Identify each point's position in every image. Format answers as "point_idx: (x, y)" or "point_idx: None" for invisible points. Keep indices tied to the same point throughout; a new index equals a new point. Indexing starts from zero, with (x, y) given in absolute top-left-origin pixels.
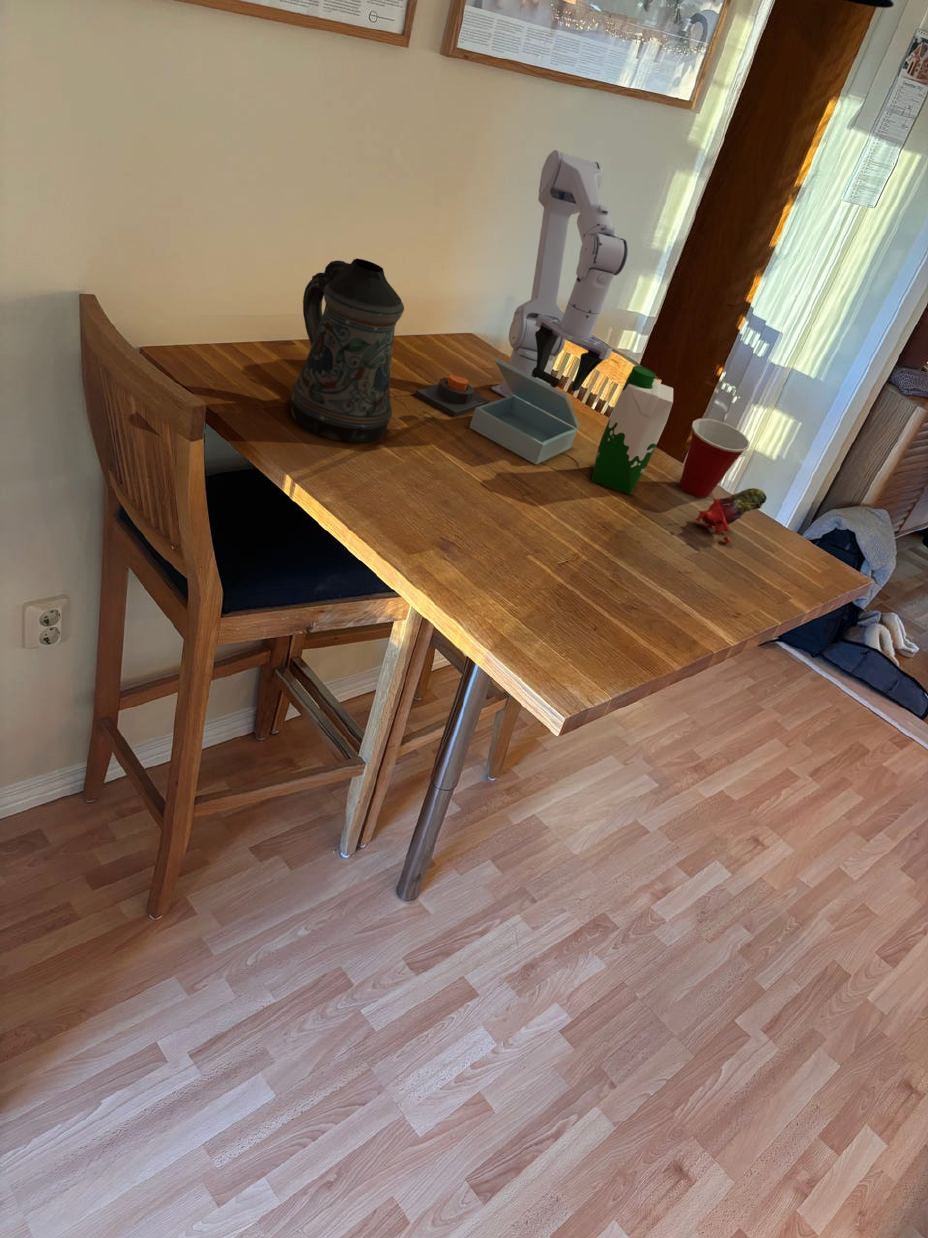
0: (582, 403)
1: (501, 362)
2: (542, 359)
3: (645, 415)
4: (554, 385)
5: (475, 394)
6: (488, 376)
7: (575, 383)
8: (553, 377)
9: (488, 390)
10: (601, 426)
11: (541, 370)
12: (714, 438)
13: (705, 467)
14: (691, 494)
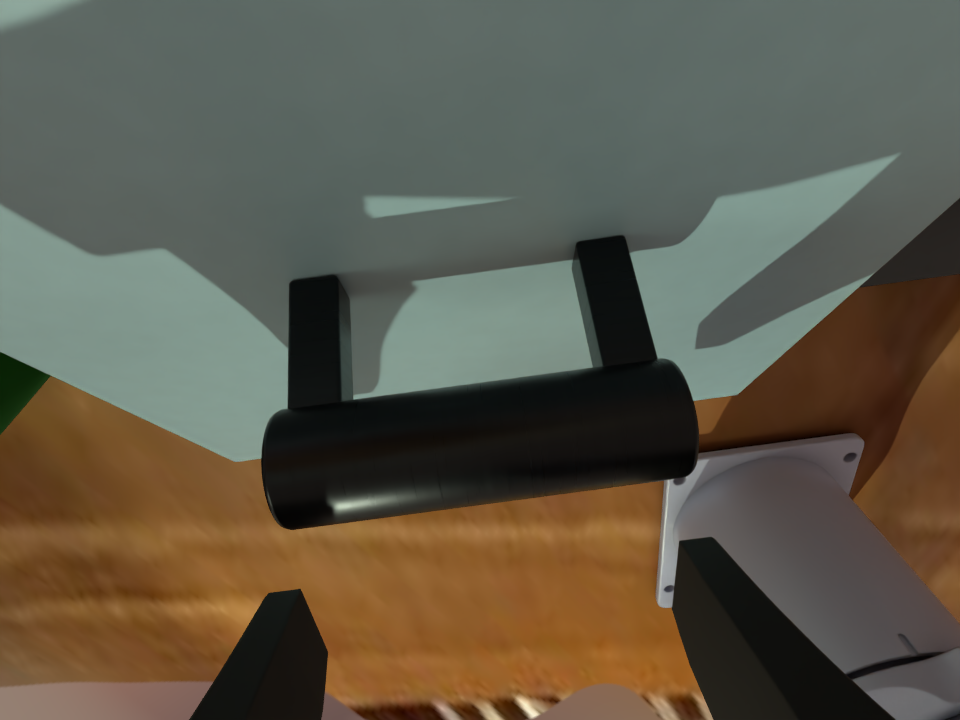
0: (564, 692)
1: None
2: (749, 672)
3: None
4: (289, 408)
5: (901, 262)
6: (917, 515)
7: (242, 660)
8: (346, 476)
9: (862, 417)
10: (407, 645)
11: (580, 459)
12: None
13: None
14: None
